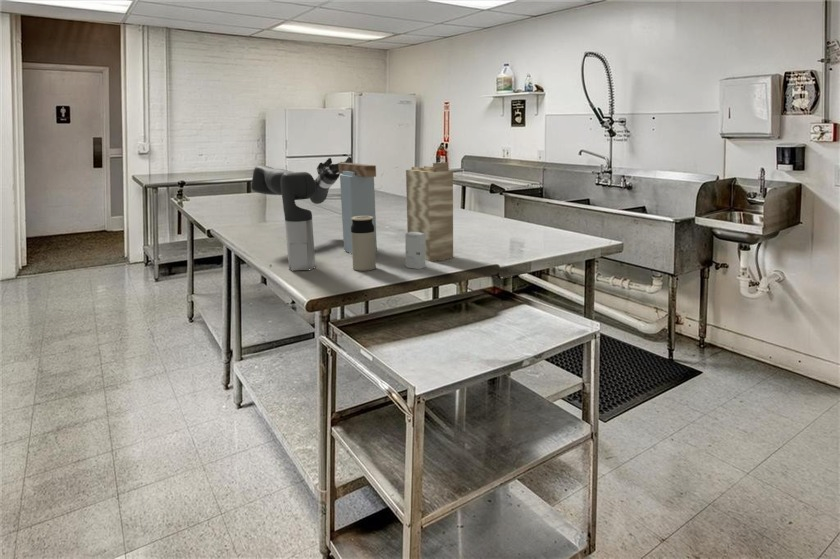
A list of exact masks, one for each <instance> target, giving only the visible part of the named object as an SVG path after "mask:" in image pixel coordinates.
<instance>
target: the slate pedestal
mask: <svg viewBox="0 0 840 559" xmlns="http://www.w3.org/2000/svg"><path fill="white" fill-rule="evenodd" d="M339 182H340V201H341V217H342V218H341V220H342V221H341V222H342V237H343V238H342V240H343V251H344V250H345V251H347V252H349V253H351V254H350V255H352V240H351V226H352V224H353V222H352V219H351V218H352V217H355V216H372V217H373V219H372V223H373V225H374V234H375V253H378V250H377V248H378V246H377V242H378V241H377V224H376V222H377V220H376V199H375V198H376V194H375V177H361V176H355V172H349V171H343V174H340V175H339ZM345 251H344V252H345ZM347 252H346V253H347ZM349 253H348V254H349Z"/></svg>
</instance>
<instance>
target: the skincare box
mask: <svg viewBox="0 0 840 559" xmlns="http://www.w3.org/2000/svg"><path fill="white" fill-rule="evenodd" d="M425 252H426V233H420V232H409V233H408V232H407V233H405V268H408V269H415V270H422V269H424V268H425V267H426V260H425Z"/></svg>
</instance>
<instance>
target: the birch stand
mask: <svg viewBox="0 0 840 559" xmlns="http://www.w3.org/2000/svg"><path fill="white" fill-rule="evenodd" d="M405 181H406V184H405V185H406V222H407V223H406V226H407V227H406V229H407V230H406V231H407V233H409V232H420V233H426V252H425V261H427V260H428V261H427V262H430V261H432V262H437V260H438V261H443V259H444V260H448V259H449V258H450V259H453V258H454V171H453V170H450V168H449V162H448V161H447V162H446V161H443V162H433V163H432V166H430V165H424V166H423V167H419V166H418V167H417V166H411V169H406V170H405Z"/></svg>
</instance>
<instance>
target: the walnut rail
mask: <svg viewBox="0 0 840 559" xmlns="http://www.w3.org/2000/svg"><path fill="white" fill-rule="evenodd" d="M337 164H338V166H339V174H340V175H343V171H349V172H355V176H361V177H374V178H376V177H377V165H376V164H375V165H373V164H362V163H353V162H352V163H340V162H337Z"/></svg>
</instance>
